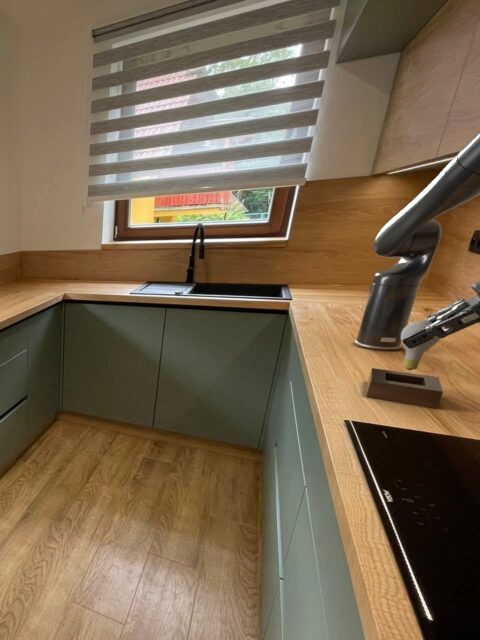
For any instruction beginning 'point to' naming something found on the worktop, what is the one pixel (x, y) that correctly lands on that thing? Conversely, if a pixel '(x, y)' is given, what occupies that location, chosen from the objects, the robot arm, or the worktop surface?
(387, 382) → the socket block
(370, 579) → the worktop surface
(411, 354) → the light bulb
